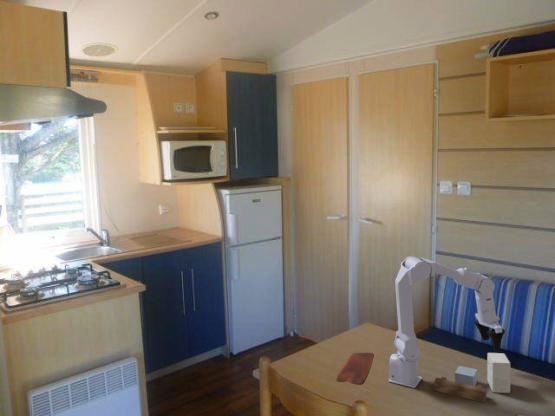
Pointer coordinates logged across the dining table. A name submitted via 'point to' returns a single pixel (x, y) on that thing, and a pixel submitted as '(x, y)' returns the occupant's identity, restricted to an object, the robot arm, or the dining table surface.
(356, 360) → the wooden tablet
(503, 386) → the small box
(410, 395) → the dining table surface
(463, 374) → the block
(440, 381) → the rail
